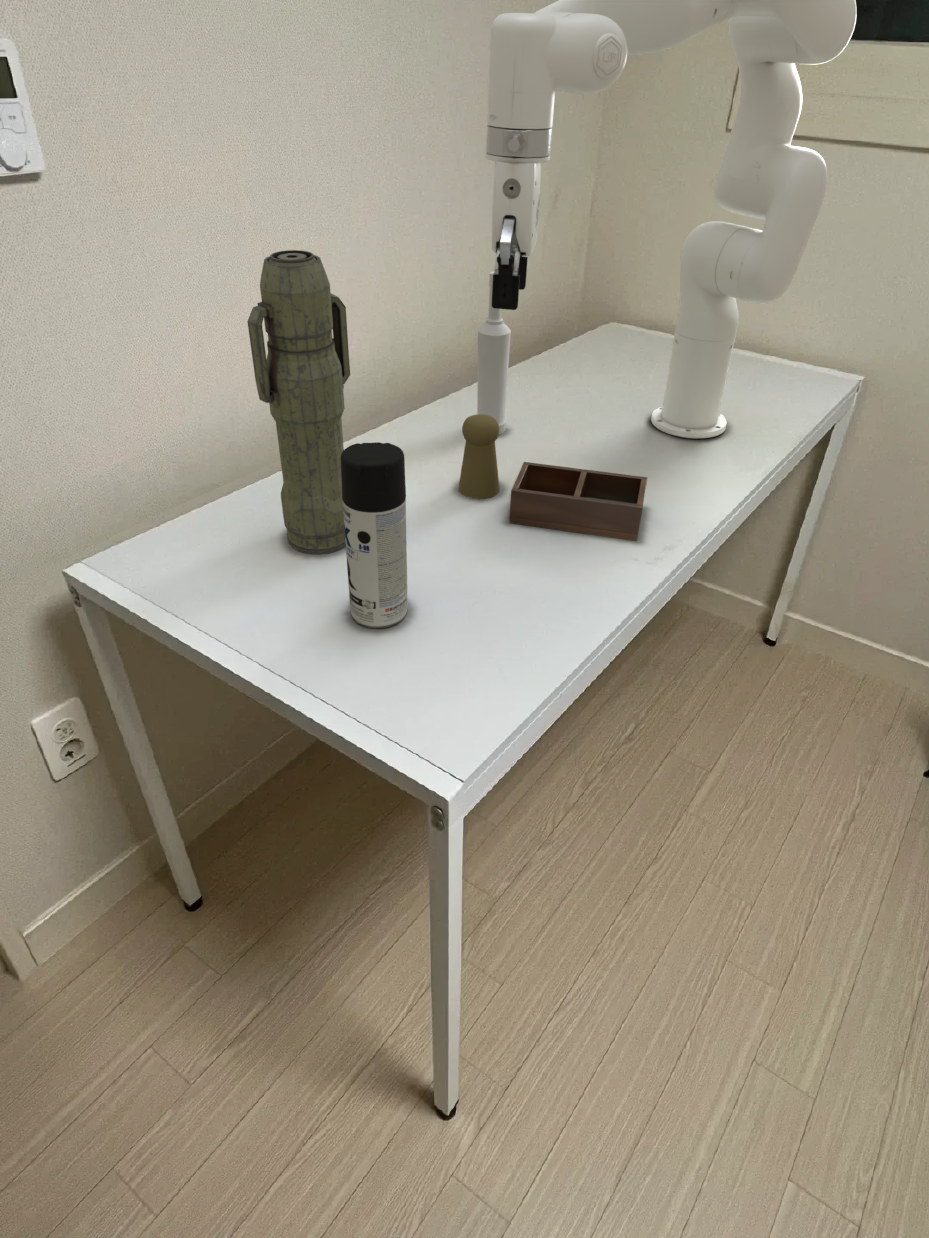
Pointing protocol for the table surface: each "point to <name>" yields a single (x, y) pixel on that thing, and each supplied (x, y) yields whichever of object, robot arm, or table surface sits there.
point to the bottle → (493, 364)
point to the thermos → (304, 392)
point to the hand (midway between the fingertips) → (509, 298)
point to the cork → (479, 457)
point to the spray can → (375, 532)
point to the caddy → (578, 500)
